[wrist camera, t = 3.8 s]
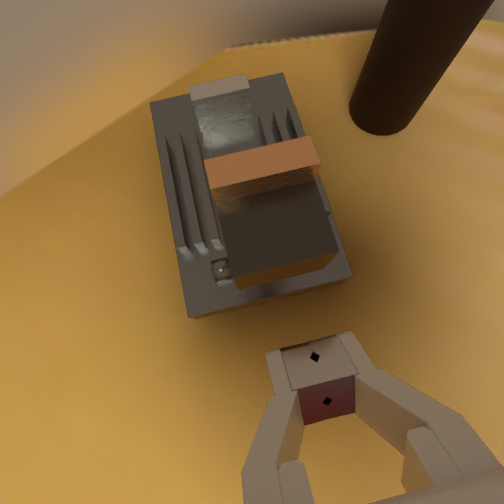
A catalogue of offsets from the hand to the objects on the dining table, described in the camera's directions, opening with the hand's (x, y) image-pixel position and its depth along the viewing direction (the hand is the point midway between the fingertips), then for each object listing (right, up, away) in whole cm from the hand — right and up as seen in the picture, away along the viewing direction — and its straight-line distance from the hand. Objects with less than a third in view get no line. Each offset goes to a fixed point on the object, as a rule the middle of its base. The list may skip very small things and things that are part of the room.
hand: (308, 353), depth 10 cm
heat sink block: (-3, +9, +20) cm, 22 cm away
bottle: (+12, +19, +22) cm, 32 cm away
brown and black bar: (-1, +1, +14) cm, 14 cm away
